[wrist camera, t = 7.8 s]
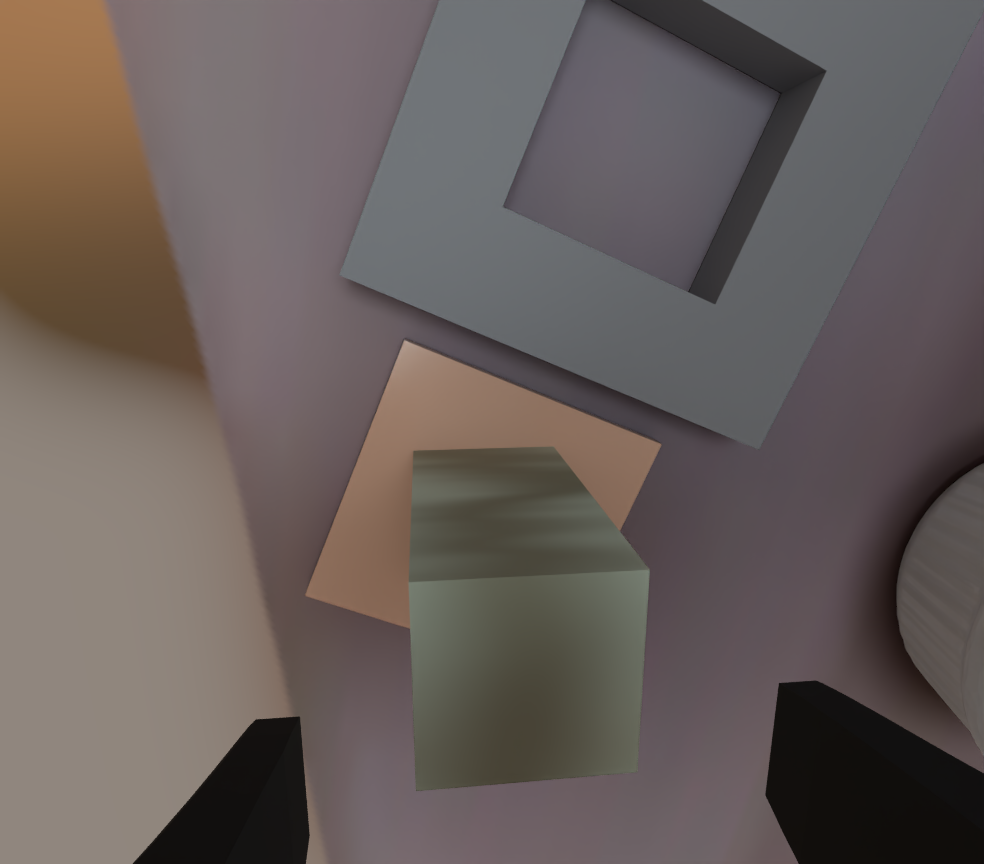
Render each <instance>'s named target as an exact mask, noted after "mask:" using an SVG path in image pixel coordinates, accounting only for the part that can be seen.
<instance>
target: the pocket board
mask: <svg viewBox="0 0 984 864" xmlns="http://www.w3.org/2000/svg"><path fill="white" fill-rule="evenodd" d="M585 1H586V0H439V2H438V5H437V8H436V11H435V14H434V16H433V19H432V22H431V25H430V27H429V30H428V33H427V36H426V38H425V41H424V44H423V47H422V49H421V52H420V55H419V58H418V60H417V63H416V66H415V69H414V71H413V74H412V77H411V80H410V82H409V85H408V88H407V91H406V93H405V96H404V99H403V102H402V104H401V107H400V110H399V113H398V115H397V118H396V121H395V124H394V126H393V129H392V132H391V135H390V137H389V140H388V143H387V146H386V148H385V151H384V154H383V157H382V159H381V162H380V165H379V168H378V170H377V173H376V176H375V179H374V181H373V184H372V187H371V190H370V192H369V195H368V198H367V201H366V203H365V206H364V209H363V212H362V214H361V217H360V220H359V223H358V226H357V228H356V231H355V234H354V237H353V239H352V242H351V245H350V248H349V250H348V253H347V256H346V259H345V261H344V264H343V267H342V270H341V272H340V276H342V277H345V278H347V279H350V280H352V281H354V282H357V283H359V284H362V285H364V286H366V287H369V288H371V289H374V290H376V291H378V292H381V293H383V294H386V295H388V296H390V297H393V298H395V299H398V300H400V301H402V302H405V303H407V304H410V305H412V306H414V307H417V308H419V309H422V310H424V311H426V312H429V313H431V314H434V315H436V316H438V317H441V318H443V319H446V320H448V321H450V322H453V323H455V324H458V325H460V326H462V327H465V328H467V329H470V330H472V331H474V332H477V333H479V334H482V335H484V336H486V337H489V338H491V339H494V340H496V341H498V342H501V343H503V344H506V345H508V346H510V347H513V348H515V349H518V350H520V351H522V352H525V353H527V354H530V355H532V356H534V357H537V358H539V359H542V360H544V361H546V362H549V363H551V364H554V365H556V366H558V367H561V368H563V369H566V370H568V371H570V372H573V373H575V374H578V375H580V376H583V377H585V378H587V379H590V380H592V381H595V382H597V383H599V384H602V385H604V386H607V387H609V388H611V389H614V390H616V391H619V392H621V393H623V394H626V395H628V396H631V397H633V398H635V399H638V400H640V401H643V402H645V403H647V404H650V405H652V406H655V407H657V408H659V409H662V410H664V411H667V412H669V413H671V414H674V415H676V416H679V417H681V418H683V419H686V420H688V421H691V422H693V423H695V424H698V425H700V426H703V427H705V428H707V429H710V430H712V431H715V432H717V433H719V434H722V435H724V436H727V437H729V438H731V439H734V440H736V441H739V442H741V443H743V444H746V445H748V446H751V447H753V448H755V449H758V450H759V449H760V447H761V445H762V443H763V441H764V440H765V438H766V436H767V434H768V432H769V430H770V428H771V426H772V424H773V422H774V420H775V418H776V416H777V414H778V412H779V410H780V408H781V406H782V404H783V402H784V400H785V398H786V397H787V395H788V393H789V391H790V389H791V387H792V385H793V383H794V381H795V379H796V377H797V375H798V373H799V371H800V369H801V367H802V365H803V363H804V361H805V359H806V357H807V356H808V354H809V352H810V350H811V348H812V346H813V344H814V342H815V340H816V338H817V336H818V334H819V332H820V330H821V328H822V326H823V324H824V322H825V320H826V318H827V316H828V314H829V313H830V311H831V309H832V307H833V305H834V303H835V301H836V299H837V297H838V295H839V293H840V291H841V289H842V287H843V285H844V283H845V281H846V279H847V277H848V275H849V273H850V271H851V270H852V268H853V266H854V264H855V262H856V260H857V258H858V256H859V254H860V252H861V250H862V248H863V246H864V244H865V242H866V240H867V238H868V236H869V234H870V232H871V230H872V229H873V227H874V225H875V223H876V221H877V219H878V217H879V215H880V213H881V211H882V209H883V207H884V205H885V203H886V201H887V199H888V197H889V195H890V193H891V191H892V189H893V187H894V186H895V184H896V182H897V180H898V178H899V176H900V174H901V172H902V170H903V168H904V166H905V164H906V162H907V160H908V158H909V156H910V154H911V152H912V150H913V148H914V146H915V144H916V143H917V141H918V139H919V137H920V135H921V133H922V131H923V129H924V127H925V125H926V123H927V121H928V119H929V117H930V115H931V113H932V111H933V109H934V107H935V105H936V103H937V102H938V100H939V98H940V96H941V94H942V92H943V90H944V88H945V86H946V84H947V82H948V80H949V78H950V76H951V74H952V72H953V70H954V68H955V66H956V64H957V62H958V60H959V59H960V57H961V55H962V53H963V51H964V49H965V47H966V45H967V43H968V41H969V39H970V37H971V35H972V33H973V31H974V29H975V27H976V25H977V23H978V21H979V19H980V17H981V16H982V14H983V12H984V0H612V1H614V2H616V3H618V4H620V5H621V6H623V7H625V8H627V9H629V10H631V11H632V12H634V13H636V14H638V15H640V16H642V17H643V18H645V19H647V20H649V21H651V22H652V23H654V24H656V25H658V26H660V27H662V28H663V29H665V30H667V31H669V32H671V33H673V34H674V35H676V36H678V37H680V38H682V39H684V40H685V41H687V42H689V43H691V44H693V45H695V46H696V47H698V48H700V49H702V50H704V51H706V52H707V53H709V54H711V55H713V56H715V57H717V58H718V59H720V60H722V61H724V62H726V63H728V64H729V65H731V66H733V67H735V68H737V69H738V70H740V71H742V72H744V73H746V74H748V75H749V76H751V77H753V78H755V79H757V80H759V81H760V82H762V83H764V84H766V85H768V86H770V87H771V88H773V89H775V90H777V91H779V92H781V93H782V94H781V96H780V98H779V100H778V102H777V104H776V107H775V109H774V111H773V113H772V115H771V117H770V119H769V122H768V124H767V126H766V128H765V130H764V132H763V134H762V137H761V139H760V141H759V143H758V145H757V147H756V149H755V152H754V154H753V156H752V158H751V160H750V162H749V164H748V167H747V169H746V171H745V173H744V175H743V177H742V179H741V182H740V184H739V186H738V188H737V190H736V192H735V194H734V196H733V199H732V201H731V203H730V205H729V207H728V209H727V211H726V214H725V216H724V218H723V220H722V222H721V224H720V226H719V229H718V231H717V233H716V235H715V237H714V239H713V241H712V244H711V246H710V248H709V250H708V252H707V254H706V256H705V259H704V261H703V263H702V265H701V267H700V269H699V271H698V273H697V276H696V278H695V280H694V282H693V284H692V286H691V288H690V291H689V292H687V291H685V290H682V289H680V288H678V287H676V286H674V285H672V284H669V283H667V282H665V281H663V280H661V279H658V278H656V277H654V276H652V275H650V274H648V273H645V272H643V271H641V270H639V269H637V268H635V267H632V266H630V265H628V264H626V263H624V262H622V261H619V260H617V259H615V258H613V257H611V256H609V255H606V254H604V253H602V252H600V251H598V250H596V249H593V248H591V247H589V246H587V245H585V244H583V243H580V242H578V241H576V240H574V239H572V238H569V237H567V236H565V235H563V234H561V233H559V232H556V231H554V230H552V229H550V228H548V227H546V226H543V225H541V224H539V223H537V222H535V221H533V220H530V219H528V218H526V217H524V216H522V215H520V214H517V213H515V212H513V211H511V210H509V209H507V208H504V207H503V205H504V202H505V200H506V197H507V195H508V192H509V190H510V187H511V185H512V182H513V180H514V177H515V175H516V172H517V170H518V167H519V165H520V162H521V160H522V157H523V155H524V152H525V150H526V147H527V145H528V143H529V140H530V138H531V135H532V133H533V130H534V128H535V125H536V123H537V120H538V118H539V115H540V113H541V110H542V108H543V105H544V103H545V100H546V98H547V95H548V93H549V90H550V88H551V85H552V83H553V80H554V78H555V75H556V73H557V71H558V68H559V66H560V63H561V61H562V58H563V56H564V53H565V51H566V48H567V46H568V43H569V41H570V38H571V36H572V33H573V31H574V28H575V26H576V23H577V21H578V18H579V16H580V13H581V11H582V8H583V6H584V3H585Z"/></svg>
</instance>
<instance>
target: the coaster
mask: <svg viewBox="0 0 984 864" xmlns="http://www.w3.org/2000/svg"><path fill="white" fill-rule="evenodd" d="M661 445H662V444H661V443H659V442H658V441H656V440H655V439H653V438H650V437H648V436H645V435H643V434H640V433H638V432H635V431H633V430H630V429H628V428H625V427H623V426H620V425H618V424H616V423H613V422H611V421H608V420H606V419H603V418H601V417H598V416H596V415H593V414H591V413H588V412H586V411H583V410H581V409H579V408H576V407H574V406H571V405H569V404H566V403H564V402H561V401H559V400H556V399H554V398H551V397H549V396H546V395H544V394H542V393H539V392H537V391H534V390H532V389H529V388H527V387H524V386H522V385H519V384H517V383H514V382H512V381H509V380H507V379H505V378H502V377H500V376H497V375H495V374H492V373H490V372H487V371H485V370H482V369H480V368H477V367H475V366H472V365H470V364H468V363H465V362H463V361H460V360H458V359H455V358H453V357H450V356H448V355H445V354H443V353H440V352H438V351H435V350H433V349H431V348H428V347H426V346H423V345H421V344H418V343H416V342H413V341H411V340H408V339H406V338H405V339H404V341H403V344H402V347H401V349H400V352H399V354H398V357H397V359H396V362H395V365H394V367H393V370H392V372H391V375H390V377H389V380H388V383H387V385H386V388H385V390H384V393H383V395H382V398H381V401H380V403H379V406H378V408H377V411H376V413H375V416H374V419H373V421H372V424H371V426H370V429H369V431H368V434H367V436H366V439H365V442H364V444H363V447H362V449H361V452H360V454H359V457H358V460H357V462H356V465H355V467H354V470H353V472H352V475H351V478H350V480H349V483H348V485H347V488H346V490H345V493H344V496H343V498H342V501H341V503H340V506H339V508H338V511H337V514H336V516H335V519H334V521H333V524H332V526H331V529H330V531H329V534H328V537H327V539H326V542H325V544H324V547H323V549H322V552H321V555H320V557H319V560H318V562H317V565H316V567H315V570H314V573H313V575H312V578H311V580H310V583H309V585H308V588H307V591H306V594H305V596H307V597H310V598H313V599H317V600H320V601H323V602H326V603H329V604H332V605H336V606H339V607H342V608H345V609H348V610H352V611H355V612H358V613H361V614H364V615H367V616H371V617H374V618H377V619H380V620H383V621H386V622H390V623H393V624H396V625H399V626H402V627H406V628H409V629H410V608H409V557H410V530H411V502H412V475H413V451H418V450H451V449H484V448H518V447H551V446H554V448H555V449H556V450H557V451H558V453H559V454H560V455H561V457H562V458H563V459H564V460H565V462H566V463H567V464H568V466H569V467H570V468H571V469H572V471H573V472H574V473H575V475H576V476H577V477H578V478H579V480H580V481H581V482H582V484H583V485H584V486H585V487H586V489H587V490H588V491H589V493H590V494H591V495H592V496H593V498H594V499H595V500H596V502H597V503H598V504H599V505H600V507H601V508H602V509H603V510H604V512H605V513H606V514H607V516H608V517H609V518H610V519H611V521H612V522H613V523H614V525H615V526H616V527H617V528H618V530H619V531H620V530H621V528H622V526H623V524H624V522H625V520H626V518H627V516H628V514H629V511H630V509H631V507H632V505H633V503H634V501H635V499H636V497H637V495H638V493H639V491H640V489H641V487H642V484H643V482H644V480H645V478H646V476H647V474H648V472H649V470H650V468H651V466H652V464H653V462H654V460H655V457H656V455H657V453H658V451H659V449H660V447H661Z"/></svg>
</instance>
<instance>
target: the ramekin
mask: <svg viewBox="0 0 984 864" xmlns="http://www.w3.org/2000/svg"><path fill="white" fill-rule="evenodd" d="M896 597H897V599H896V600H897V618H898V621H899V629H900V634H901V636H902V638H903V640H904V646H905V649H906V651H907V653H908V654H909V655H910V657H911V659H912V661H913V663H914V664H915V666H916V667H917V669H918V670H919V671H920V672H921V674H922V675H923V676H924V678H925V679H926V680H927V681H928V683H929V684H930V685H931V686H932V687H933V688H934V690H935V691H936V692H937V693H938V694H939V696H940V697H941V698H942V699H943V700H944V702H945V703H946V704H947V705H948V706H949V708H950V709H951V710H952V711H953V712H954V713H955V715H956V716H957V717H958V718H959V719H960V721H961V722H962V723H963V724H964V725H965V726H966V727H967V729H968V730H969V731H970V732H971V734H972V736H973V738H974V741H975V743H976V745H977V746H978V748H979V749H980V751H981V753H982V754H983V756H984V463H983V464H981V465H979V466H977V467H975V468H974V469H972V470H971V471H969V472H968V473H966V474H965V475H963V476H962V477H960V478H959V479H958V480H957V481H955V482H954V483H953V484H952V485H951V486H950V487H948V488H947V489H946V490H945V491H944V492H943V493H942V494H941V495H940V496H939V497H938V498H937V499H936V500H935V501H934V503H933V504H932V505H931V506H930V508H929V509H928V510H927V511H926V513H925V514H924V516H923V517H922V519H921V520H920V521H919V523H918V525H917V526H916V528H915V530H914V532H913V534H912V536H911V538H910V540H909V542H908V544H907V546H906V548H905V551H904V554H903V557H902V561H901V564H900V569H899V574H898V580H897V594H896Z"/></svg>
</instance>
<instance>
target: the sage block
mask: <svg viewBox="0 0 984 864" xmlns="http://www.w3.org/2000/svg"><path fill="white" fill-rule="evenodd" d="M649 574H650V570H649V568H648V567H647V566H646V564H645V563H644V562H643V561H642V559H641V558H640V557H639V555H638V554H637V553H636V552H635V550H634V549H633V548H632V546H631V545H630V544H629V543H628V541H627V540H626V539H625V537H624V536H623V535H622V534H621V532H620V531H619V530H618V528H617V527H616V526H615V525H614V523H613V522H612V521H611V519H610V518H609V517H608V516H607V514H606V513H605V512H604V510H603V509H602V508H601V507H600V505H599V504H598V503H597V502H596V500H595V499H594V498H593V496H592V495H591V494H590V493H589V491H588V490H587V489H586V487H585V486H584V485H583V484H582V482H581V481H580V480H579V478H578V477H577V476H576V475H575V473H574V472H573V471H572V469H571V468H570V467H569V466H568V464H567V463H566V462H565V460H564V459H563V458H562V457H561V455H560V454H559V453H558V451H557V450H556V449H555V448H554V446H551V447H518V448H484V449H451V450H418V451H413V475H412V502H411V530H410V557H409V608H410V637H411V665H412V693H413V722H414V750H415V778H416V791H423V790H434V789H446V788H458V787H470V786H481V785H493V784H505V783H517V782H528V781H540V780H552V779H564V778H575V777H587V776H599V775H611V774H622V773H634V772H637V768H638V752H639V736H640V719H641V703H642V687H643V671H644V655H645V639H646V622H647V606H648V590H649Z"/></svg>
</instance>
